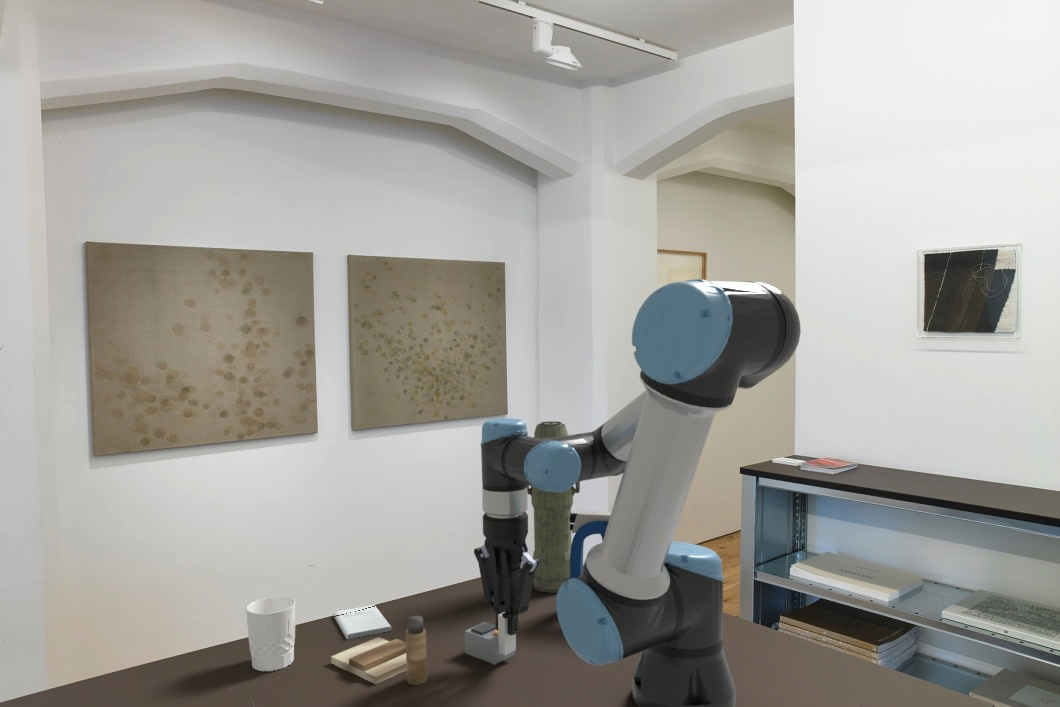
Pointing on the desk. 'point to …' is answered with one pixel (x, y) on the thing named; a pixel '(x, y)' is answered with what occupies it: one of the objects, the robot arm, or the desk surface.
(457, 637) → the desk surface
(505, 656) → the box
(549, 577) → the thermos
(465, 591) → the desk surface
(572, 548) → the handheld scanner
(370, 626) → the external hard drive
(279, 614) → the white cup
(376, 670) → the panel
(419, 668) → the peg
